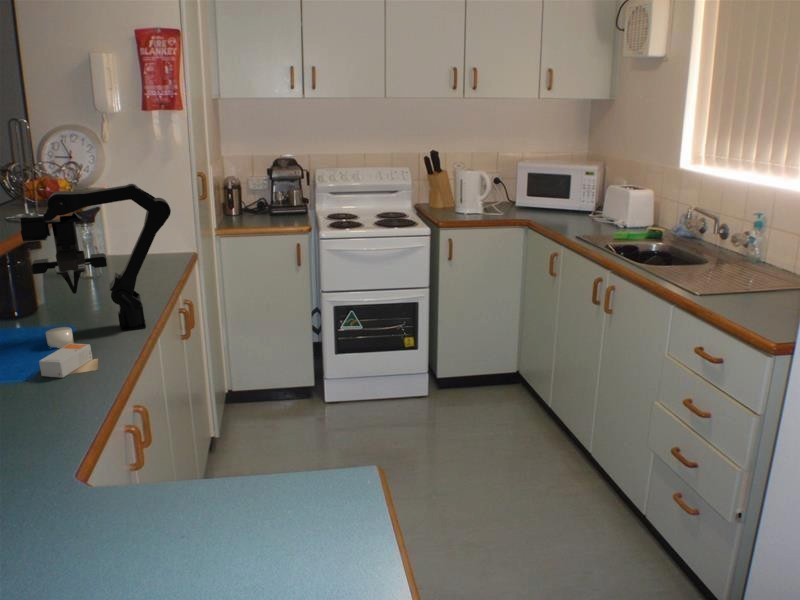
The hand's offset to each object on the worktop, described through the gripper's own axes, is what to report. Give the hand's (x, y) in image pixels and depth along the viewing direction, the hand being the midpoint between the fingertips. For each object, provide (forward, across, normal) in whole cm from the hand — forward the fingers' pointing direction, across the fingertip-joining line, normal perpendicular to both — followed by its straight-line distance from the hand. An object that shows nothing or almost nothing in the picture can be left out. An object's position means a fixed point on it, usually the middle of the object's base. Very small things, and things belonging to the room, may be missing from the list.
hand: (74, 293), depth 195 cm
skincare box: (+10, +1, -21) cm, 23 cm away
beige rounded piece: (+12, -5, -7) cm, 15 cm away
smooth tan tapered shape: (+12, 0, -26) cm, 29 cm away
